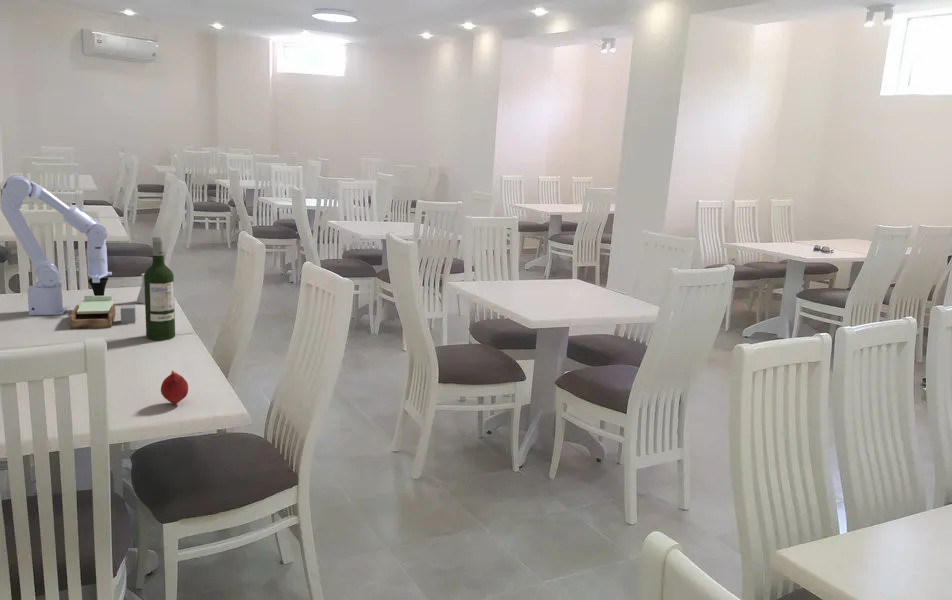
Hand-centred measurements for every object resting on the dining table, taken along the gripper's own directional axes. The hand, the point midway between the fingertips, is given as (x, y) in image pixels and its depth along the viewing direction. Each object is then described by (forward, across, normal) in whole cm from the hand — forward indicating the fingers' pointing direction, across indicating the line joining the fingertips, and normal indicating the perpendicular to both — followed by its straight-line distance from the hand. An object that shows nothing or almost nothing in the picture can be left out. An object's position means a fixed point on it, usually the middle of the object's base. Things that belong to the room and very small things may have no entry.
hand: (99, 299), depth 245 cm
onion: (+3, -94, -25) cm, 98 cm away
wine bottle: (+3, -37, -20) cm, 42 cm away
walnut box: (+3, -17, 0) cm, 18 cm away
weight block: (+3, -18, -10) cm, 21 cm away
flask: (+3, +9, -14) cm, 17 cm away
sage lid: (0, -10, 0) cm, 10 cm away
